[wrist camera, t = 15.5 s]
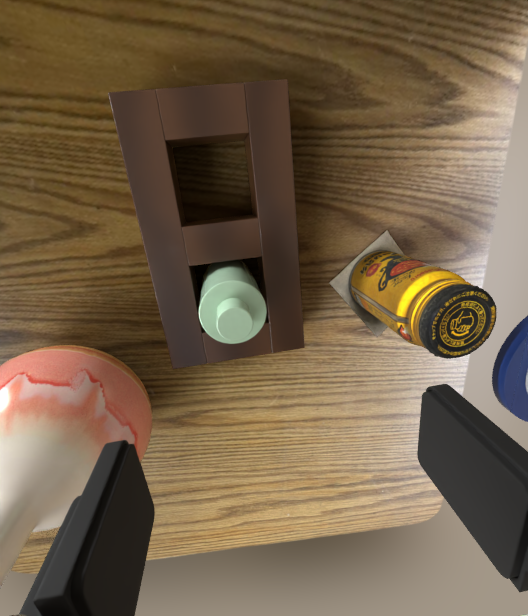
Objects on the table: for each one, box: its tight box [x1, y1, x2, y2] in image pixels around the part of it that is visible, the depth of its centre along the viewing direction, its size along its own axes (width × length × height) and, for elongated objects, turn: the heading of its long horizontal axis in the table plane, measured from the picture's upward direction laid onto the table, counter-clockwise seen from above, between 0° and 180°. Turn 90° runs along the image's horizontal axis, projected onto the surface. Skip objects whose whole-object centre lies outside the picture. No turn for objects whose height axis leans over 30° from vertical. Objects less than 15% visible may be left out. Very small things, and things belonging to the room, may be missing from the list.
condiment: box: [330, 231, 496, 358], centre depth 27 cm, size 7×8×12 cm
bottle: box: [199, 260, 267, 344], centre depth 25 cm, size 5×5×10 cm
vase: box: [0, 345, 152, 588], centre depth 23 cm, size 14×14×18 cm
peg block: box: [108, 79, 304, 369], centre depth 27 cm, size 12×21×4 cm, turn 6°
